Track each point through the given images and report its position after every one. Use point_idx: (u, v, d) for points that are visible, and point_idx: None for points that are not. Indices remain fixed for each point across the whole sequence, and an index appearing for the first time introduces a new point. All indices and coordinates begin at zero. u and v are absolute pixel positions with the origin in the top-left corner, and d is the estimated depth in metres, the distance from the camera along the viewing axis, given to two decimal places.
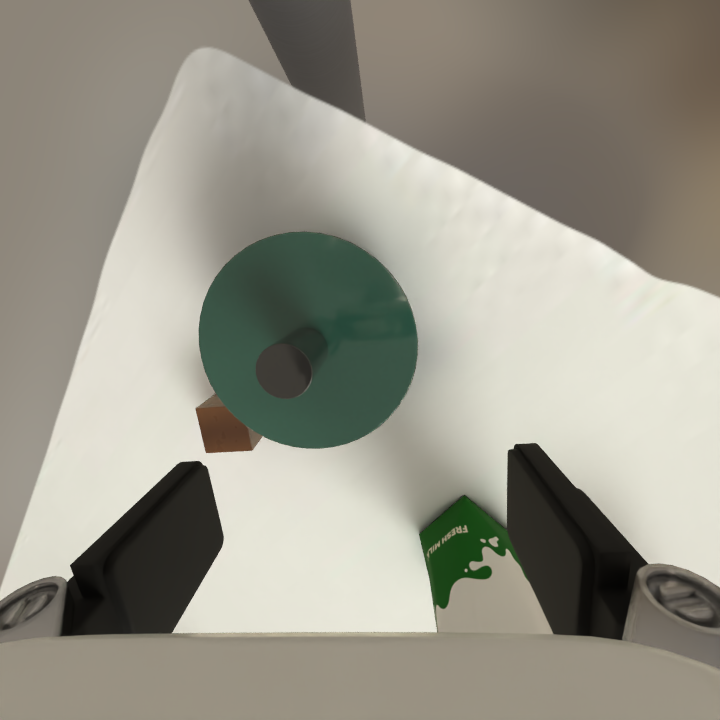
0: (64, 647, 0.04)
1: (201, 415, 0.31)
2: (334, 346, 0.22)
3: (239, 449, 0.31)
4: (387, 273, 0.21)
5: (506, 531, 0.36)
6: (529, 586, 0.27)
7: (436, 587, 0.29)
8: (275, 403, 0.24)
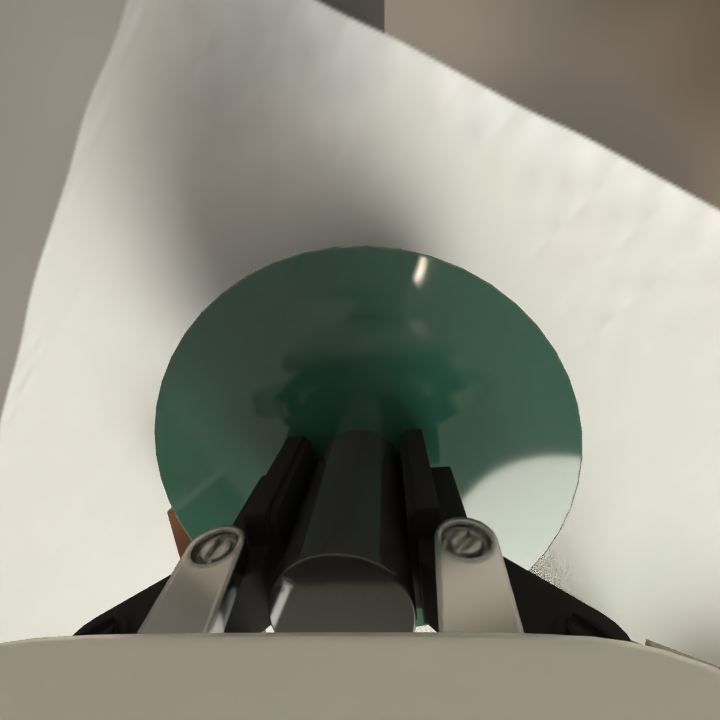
0: (64, 647, 0.04)
1: (176, 522, 0.20)
2: None
3: None
4: (535, 331, 0.10)
5: None
6: None
7: None
8: None
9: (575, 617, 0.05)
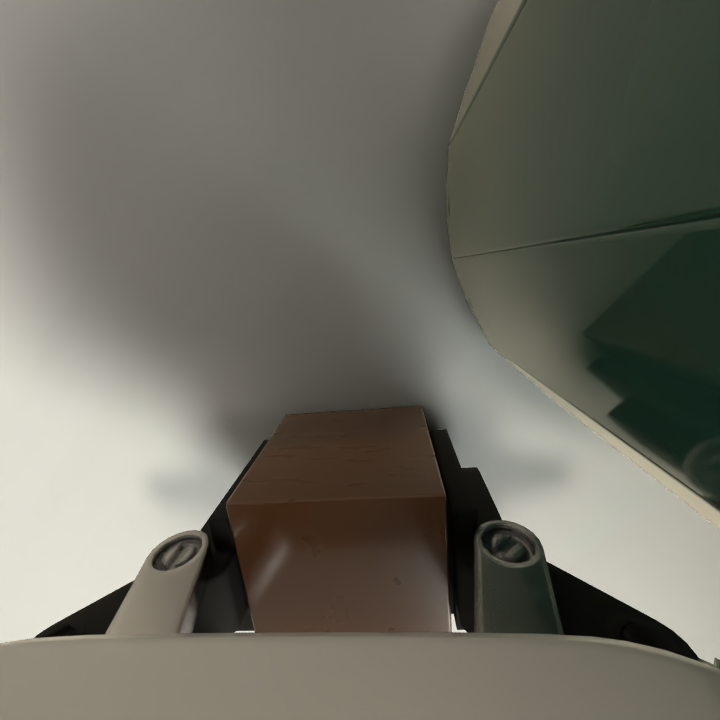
0: (64, 647, 0.04)
1: (249, 533, 0.07)
2: None
3: None
4: None
5: None
6: None
7: None
8: None
9: (631, 625, 0.05)
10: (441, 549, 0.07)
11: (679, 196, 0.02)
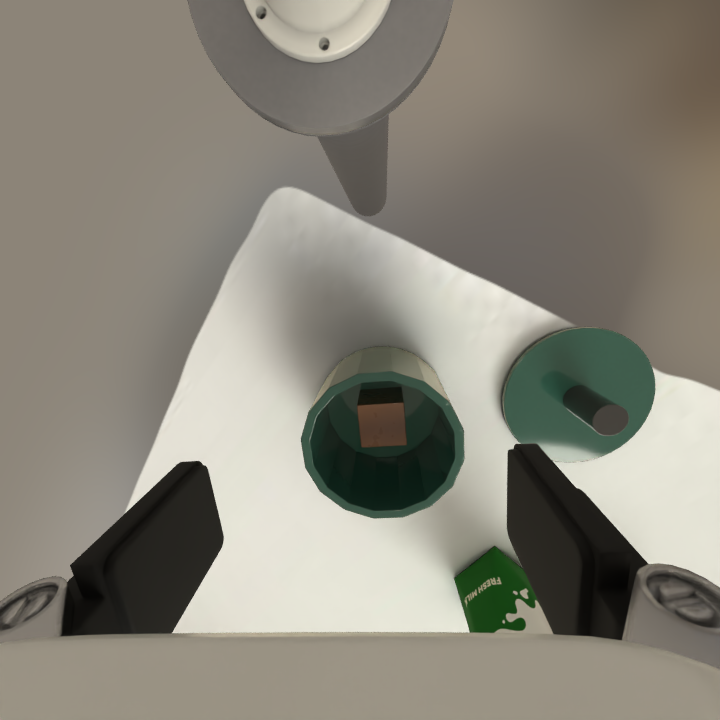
0: (64, 647, 0.04)
1: (361, 412, 0.33)
2: None
3: (394, 444, 0.33)
4: (642, 353, 0.33)
5: None
6: None
7: None
8: (549, 433, 0.36)
9: None
10: (403, 415, 0.32)
11: None
